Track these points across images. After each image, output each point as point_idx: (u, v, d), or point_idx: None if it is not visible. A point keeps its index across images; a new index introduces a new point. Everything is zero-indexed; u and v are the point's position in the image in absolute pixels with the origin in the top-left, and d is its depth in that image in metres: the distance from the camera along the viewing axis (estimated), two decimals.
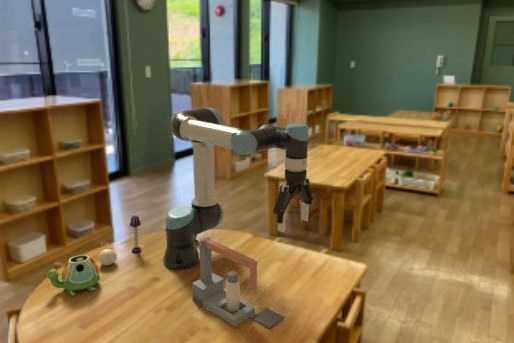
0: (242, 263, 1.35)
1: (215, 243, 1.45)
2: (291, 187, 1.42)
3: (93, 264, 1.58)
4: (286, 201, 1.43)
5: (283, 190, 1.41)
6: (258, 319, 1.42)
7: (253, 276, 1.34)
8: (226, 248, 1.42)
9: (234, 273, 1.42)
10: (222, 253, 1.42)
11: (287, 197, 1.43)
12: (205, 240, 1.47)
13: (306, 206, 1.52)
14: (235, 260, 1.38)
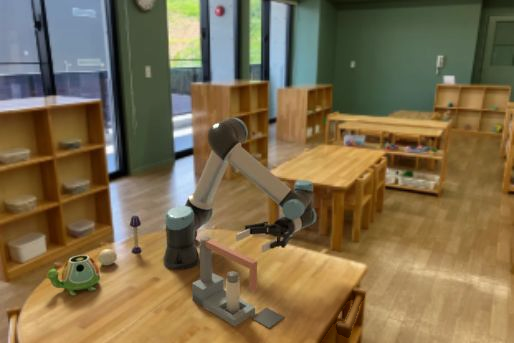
0: (242, 263, 1.35)
1: (215, 243, 1.45)
2: None
3: (93, 264, 1.58)
4: None
5: (291, 236, 1.55)
6: (258, 319, 1.42)
7: (253, 276, 1.34)
8: (226, 248, 1.42)
9: (234, 273, 1.42)
10: (222, 253, 1.42)
11: (280, 237, 1.54)
12: (205, 240, 1.47)
13: (248, 235, 1.56)
14: (235, 260, 1.38)
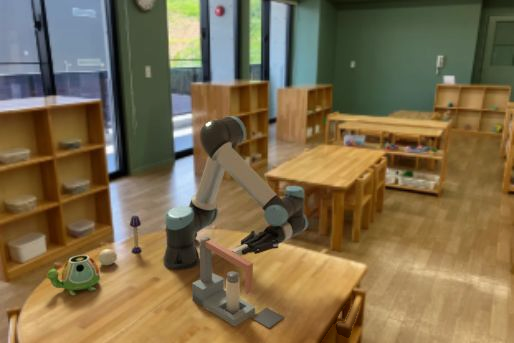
0: (238, 265, 1.34)
1: (214, 243, 1.45)
2: None
3: (93, 264, 1.58)
4: None
5: (275, 246, 1.47)
6: (258, 319, 1.42)
7: (248, 278, 1.32)
8: (224, 249, 1.41)
9: (234, 273, 1.42)
10: (220, 254, 1.41)
11: None
12: (204, 240, 1.47)
13: None
14: (232, 261, 1.37)
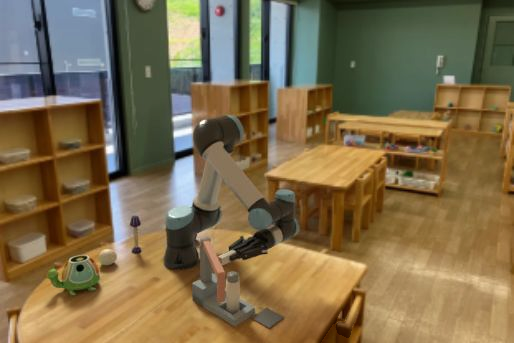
0: (214, 270, 1.31)
1: (208, 245, 1.44)
2: None
3: (93, 264, 1.58)
4: None
5: (264, 252, 1.43)
6: (258, 319, 1.42)
7: (219, 286, 1.28)
8: (212, 252, 1.39)
9: (234, 273, 1.42)
10: (208, 256, 1.39)
11: None
12: (203, 240, 1.47)
13: None
14: (212, 266, 1.34)
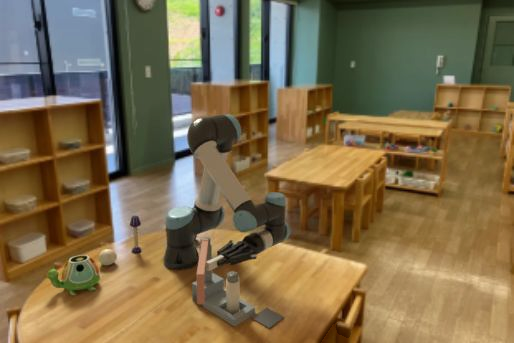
0: None
1: (204, 245, 1.43)
2: None
3: (93, 264, 1.58)
4: None
5: (252, 257, 1.39)
6: (258, 319, 1.42)
7: (198, 288, 1.27)
8: (204, 253, 1.38)
9: (234, 273, 1.42)
10: None
11: None
12: (202, 240, 1.48)
13: None
14: None
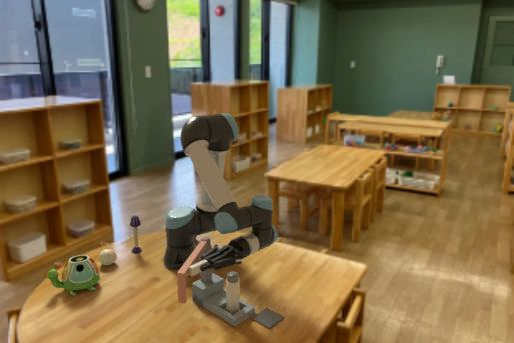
0: None
1: (201, 245, 1.43)
2: None
3: (93, 264, 1.58)
4: None
5: (237, 261, 1.36)
6: (258, 319, 1.42)
7: (178, 286, 1.27)
8: (196, 252, 1.38)
9: (234, 273, 1.42)
10: None
11: None
12: (202, 239, 1.48)
13: None
14: None
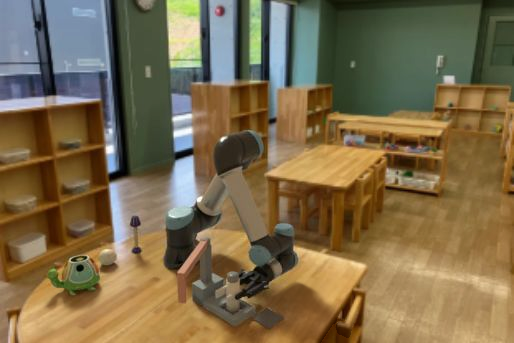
0: None
1: (201, 245, 1.43)
2: None
3: (93, 264, 1.58)
4: (251, 289, 1.46)
5: (265, 287, 1.47)
6: (258, 319, 1.42)
7: (178, 286, 1.27)
8: (196, 252, 1.38)
9: (234, 273, 1.42)
10: None
11: (253, 286, 1.47)
12: (202, 239, 1.48)
13: None
14: None
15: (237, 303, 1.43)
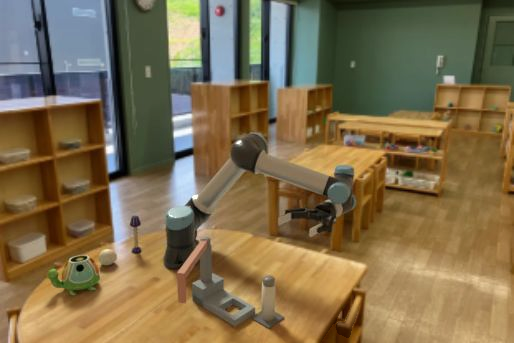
0: None
1: (201, 245, 1.43)
2: None
3: (93, 264, 1.58)
4: None
5: (334, 221, 1.50)
6: (258, 319, 1.42)
7: (178, 286, 1.27)
8: (196, 252, 1.38)
9: (270, 277, 1.40)
10: None
11: None
12: (202, 239, 1.48)
13: (289, 219, 1.52)
14: None
15: (273, 307, 1.40)
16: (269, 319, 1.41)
